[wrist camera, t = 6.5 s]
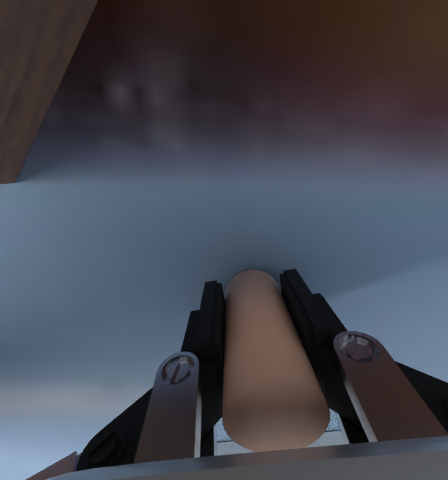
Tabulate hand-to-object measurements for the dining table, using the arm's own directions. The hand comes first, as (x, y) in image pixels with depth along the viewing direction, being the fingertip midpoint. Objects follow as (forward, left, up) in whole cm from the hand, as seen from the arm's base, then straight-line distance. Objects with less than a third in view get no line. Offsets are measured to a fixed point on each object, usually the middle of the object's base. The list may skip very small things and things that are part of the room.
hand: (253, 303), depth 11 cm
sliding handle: (+10, 0, -1) cm, 10 cm away
